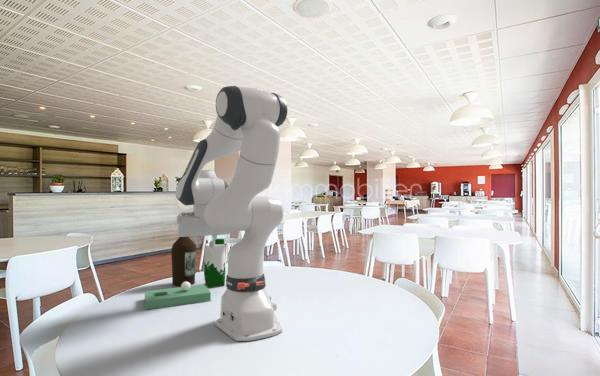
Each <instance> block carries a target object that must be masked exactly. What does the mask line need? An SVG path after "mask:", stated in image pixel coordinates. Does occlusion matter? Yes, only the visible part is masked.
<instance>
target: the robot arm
mask: <svg viewBox="0 0 600 376" xmlns="http://www.w3.org/2000/svg"><path fill="white" fill-rule="evenodd" d="M215 99H216V100H215V110H216V111H215V112H216V114H217V117H216V119H215V122H214V125H213V128H212V130H211V132H210V133H209V134H208V135H207V136H206V137H205V138H204V139H201V140H200V141H199V142H198V144H197V145H196V147H195V149H194V151H193V153H192V155H191V158H190V159H189V162H188V163H187V166H186V168H185V171H184V172H183V174H182V176H181V177H180V179H179V180H178V182H177V184H176V187H175V197H176V199H177V200H178V202H180V203H181V204H182V205H184V206H193V209H192V211H191V212H181V213H179V214H178V215H177V216H176V223H177V225H178V226H177V236H178V237H189V238H191V237H192V240H193V242H194V243H195V245H196V249H200V248H201V245H202V244H201V242H198V237H201V236H202V237H203V236H204V237H207V236H211V238H212V239H211V241H209V242H208V244H210V245H209V247H214V243H215V240H216V239H218V236H223V235H224V236H225V235H230V234H231V233H232V232H244V233H243V237H241V239H240V240H239V241H237V242H236V243H234V244H232V245H231V247H230V248H229V250H228V253H227V274H226V275H225V285H226V286H225V287H226V290H225V291H224V292H223V294H222V295H221V298H220V299H221V301H220V313H219V316H220V317H219V318H218V319H216V320H215V322H214V326H216V327H218V329H220V330H221V331H223V332H224V333H225V334H227V336H228V337H230V338H232V339H233V340H234V341H237V342H238V341H239V342H246V341H247V342H249V341H256V340H261V339H265V338H269V337H273V336H276V335H278V334H280V333H281V332H283V327H282V325H281V323H280V322H279V320H278V318H277V316H276V314H275V311H277V303H276V302H272V301H271V300H272V296H271V295H269V293H268V289H267V288H266V287H267V285H266V277H265V274H264V258H265V257H264V255H265V247H266V245H267V242H268V239H269V238H270V236H271V234H272V233H273V231H274V230H275V229H276V228H278V227H279V226H280V224H281V223H282V221H283V219H284V216H285V215H284V207H283V204H282V203H281V201H280V200H279V199H278V198H275V197H271V196H266V195H260V196H259V195H258V194H260V193H262V192H263V191H265V190H267V189H268V188H269V187H270V185H271V184H272V181H273V176H274V173H275V169H276V164H277V161H278V156H279V151H280V143H281V132H280V128H279V127H280V126H282V125H283V124H284V123H285V121H286V119H287V117H288V104H287V101H286V100H285V98H284V97H283V96H281V95H279V94H277V93H274V92H268V91H264V90H261V89H257V88H253V87H245V86H244V87H242V86H241V87H239V86H236V85H229V86H228V85H227V86H224V87H222V88H221V89H220V90H219V92H218V93H217V96H216V98H215ZM238 153H239V156H238V158H237V159H238V160H237V164H236V168H235V171H234V175H233V177H232V179H231V181H230V183H229V184H228V183H227V181H225V180H224V179H222V178H219V177H218V176H217V175H216V174H217V173H216V172H215V171H213V170H209V169H208V170H207V169H205V170H203V169H204V168H205V166H206V165H207V164H209V163H210V162H213V161H215V160H218V159H222V158H223V159H224V158H228V157H232V156H235V155H236V154H238Z"/></svg>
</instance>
